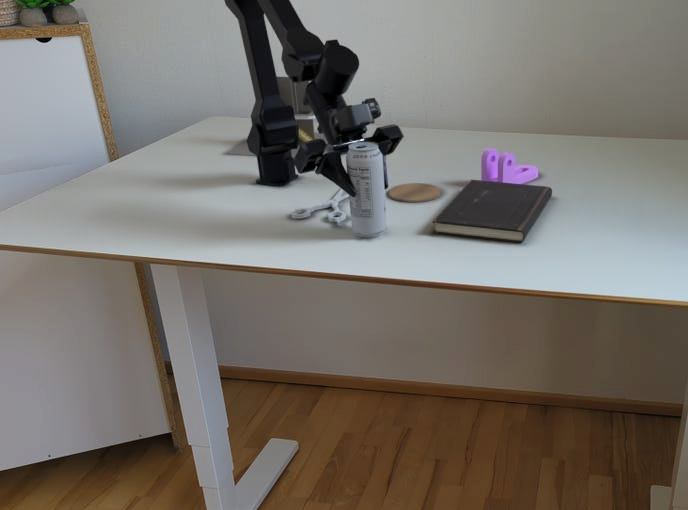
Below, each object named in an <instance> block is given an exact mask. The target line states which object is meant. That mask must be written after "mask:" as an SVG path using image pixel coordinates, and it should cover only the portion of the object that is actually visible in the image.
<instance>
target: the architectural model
mask: <svg viewBox="0 0 688 510" xmlns="http://www.w3.org/2000/svg"><path fill="white" fill-rule="evenodd" d="M277 81H278V86H279V90H280V95H281V97H282V99H283V100H284V101H285V102H286V103H287V104H288V105H291V106H292V107H293V109H294V115H295V120H296V122H297V124H298V127H299V135H298V149H299V147H300V145H301V143H302V142H305V141H310V140H315V139H323V140H324V141H325V143H326V144H328V142H327V140H326V138H325V136H324V134H323V133H322V134H319V132H318V133H315V125H314V119H316V117H315V115H314V113H313V111H312V109H311V107H310V105H304V104H303V97H304V95H305V94H304V92H305V89H306V88H307V85H308V84H309V83H310V81H308V82H301V83H296V82H293V81H292V80H291V79H290V78H289V76H277ZM298 149H292V150H291V153H292V157H293V158H295V156H296V154H297V152H298ZM226 155H238V156H239V155H242V156H256V157H257V155H255V154H253V153H251V152H250V151H249V148H248V145H247V140H245V141H244V142H242V143H241V144H239V145H237V146H236V147H234V148H233V149H231V150H229V151H228V152H226Z"/></svg>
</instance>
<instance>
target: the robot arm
mask: <svg viewBox="0 0 688 510" xmlns="http://www.w3.org/2000/svg"><path fill="white" fill-rule="evenodd" d="M223 1H224V4H225V6H226V7H227V9H228V10H229V11H230V12H231V13H232V14H233V16H234V17H235V18H236V19H237V22H238V26H239V30H240V37H241V39H242V43H243V49H244V54H245V58H246V63H247V67H248V72H249V76H250V81H251V83H252V84H251V85H252V90H253V94H254V99H255V102H254V105H253V107H252V111H251V114H250V120H251V121H250V122H251V127H250V130H249V133H248V136H247V138H246V141H247V145H248V148H249V151H250V152H251V153H253V154H255V155H254V156H256V155H257V156H256V161H257V169H258V175H259V178H257V179H255V183H256V184H261V185H269V186H278V187H284V186H286V185H288V184H290V183H291V182H293V181H295V180H296V179H298V178H299V175H300V174H301V175H302V174H306V173H311V172H314V173H315V174H316V175H317V176H318V175H321V176H323V177H324V178H326V179H327V180H329V181H331V182H332V183H334V184H335V185H336V186H337V187H339V188H340V190H341V189H343V192H345V193H346V194H349V195H350V196H351V197H355V196H356V191H355V188H354V186H353V184H352V182H351V180H350V178H349V176H348V174H347V169H346V168H345V167H344V164H343V160H342V156H343V155H344V156H345V155H347V153H348V150H349V145H350V144H353V143H357V142H373V143H376V144H378V148H379V150H380V152H381V153H382V156H383V172H384V189H385V190H387V189H388V188H389V179H388V178H389V177H388V170H387V156H389V155H391V154H393V153H394V152H395V151H396V149H397V148H398V146H399V144H400V143H401V141H402V140H403V139H404V137H405V135H404V134H403V131H402V129H401V127H400V126H399V125H397V124H394V123H393V124H388V125H383V126H378V127H376V128H375V130H374V132H373V134H372V135H371V136H368V137H363V135H364V134H366V133H367V131H368V130H369V129H368V127H367V126H369V125H370V124H372V125H373V124H375V123H376V121H375V120H377V119H379V118H380V117H381V116H382V109H381V107H380V104H379V103H378V101H377V99H376V98H375V97H370V98H369V97H368V98H366V99H364V100H362V101H361V103H359V104H353V105H352V104H349V105H348V104H347V102H346V100H345V97H344V96H343V95H344V94H346V93H347V91H348V90H349V88H350V86H351V84H352V82H353V80H354V78H355V76H356V74H357V72H358V70H359V68H360V59H359V57H358V55H357V53H355V52H354V51H353V50H351V48H349V47H348V46H345V45H342V44H340V42H339V40H338V39H328V40H326V41H325V43H323V41H322V39H321V38H320V37H319V36H318V35H316V34H315V33H313V32H311V31H309V30H308V29H307V27H305V25H304V24H303V22H302V20H301V18H300V16H299V15H298V13H297V10H296V9H295V8H294V5H293V4H292V2H291V0H223ZM265 17H266V19H267V22H269V23H268V24H270V26H271V28H272V30H273V32H274V33H275V35H276V37H277V39H278V41H279V43H280V46H281V47H282V48H281V49H282V50H281V59H280V60H281V62H282V66H283V69H284V72H285V74H286V75H287V76H286V77H289V78H290V79H291V80H292V81H293V82H296V83H301V82H308V81H309V84H308V85H307V88H306V89H305V92H304V94H305V95H304V97H303V104H304V105H310V107H311V109H312V111H313V113H314V115H315V117H316V118H315V119H316V121H317V123H318V126H317V129H316V130H317V132H318V134H324V136H325V138H326V140H327V142H328V144H326V143H325V141H324V140H323V139H315V140H310V141H305V142H302V143H301V145H300V147H299V149H298V135H299V127H298V124H297V122H296V120H295V115H294V109H293V107H292V106H291V105H288V104H287V103H286V102H285V101H284V100H283V99H282V97H281V95H280V90H279V86H278V81H277V77H278V76H277V72H276V67H275V63H274V58H273V52H272V49H271V42H270V39H269V34H268V29H267V24H266V20H265ZM292 149H298V152H297V154H296V156H295V158H293V157H292V153H291V150H292ZM296 171H297V173H298V174H297V173H296Z"/></svg>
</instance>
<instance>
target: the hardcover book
mask: <svg viewBox="0 0 688 510" xmlns="http://www.w3.org/2000/svg"><path fill="white" fill-rule="evenodd" d="M552 196H553V189H552V187H551V186H546V185H534V184H525V183H523V184H514V183H503V182H492V181H481V179H471V180H470V181H469V182H468V183H467V184H466V185H465V186H464V187H463V188H462V189H461V190H460V192H458V193H457V195H456V196H455V197H454V198H453V199H452V200H451V201H450V202H449V203H448V204H447V205H446V206H445V208H444V209H443V210H442V211H440V213H439V214H438V215H437V216H436V217H435V218H434V219H433V221H432V223H433V224H435V226H434V228H435V229H434V230H433V232H432V234H436V235H442V236H451V237H452V236H453V237H460V238H461V237H462V238H470V239H471V238H472V239H480V240H488V241H496V242H497V241H498V242H506V243H515V244H522V243H523V242H524V241H525V239H526V238H527V236H528V235H529V233H530V231H531V230H532V228H533V227H534V225H535V224H536V222H537V220H538V219H539V217H540V215H541V214H542V212H543V211H544V209H545V208H546V206H547V204H548V203H549V201H550V199H551V198H552Z"/></svg>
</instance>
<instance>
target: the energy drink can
mask: <svg viewBox="0 0 688 510" xmlns="http://www.w3.org/2000/svg"><path fill="white" fill-rule="evenodd" d="M345 164H346V165H345V167H346V172H347V174H348V176H349V178H350V180H351V182H352V184H353V186H354V188H355V191H356V196H355V197H351V196H350V195H349V197H348V200H349V201H348V202H349V211H350V225H351V231H353V232H354V234H355V235H356V236H357V237H358V238H359V237H360V238H365V239H366V238H367V239H371V238H377V237H380V236H382V235H383V234H384V233H385V230H386V229H387V227H388V226H387V208H386V207H387V205H386V191H385V190H386V189H384V172H383V156H382V153H381V152H380V150H379V148H378V144H376V143H373V142H357V143H353V144H350V145H349V150H348V153H347V154H345Z"/></svg>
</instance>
